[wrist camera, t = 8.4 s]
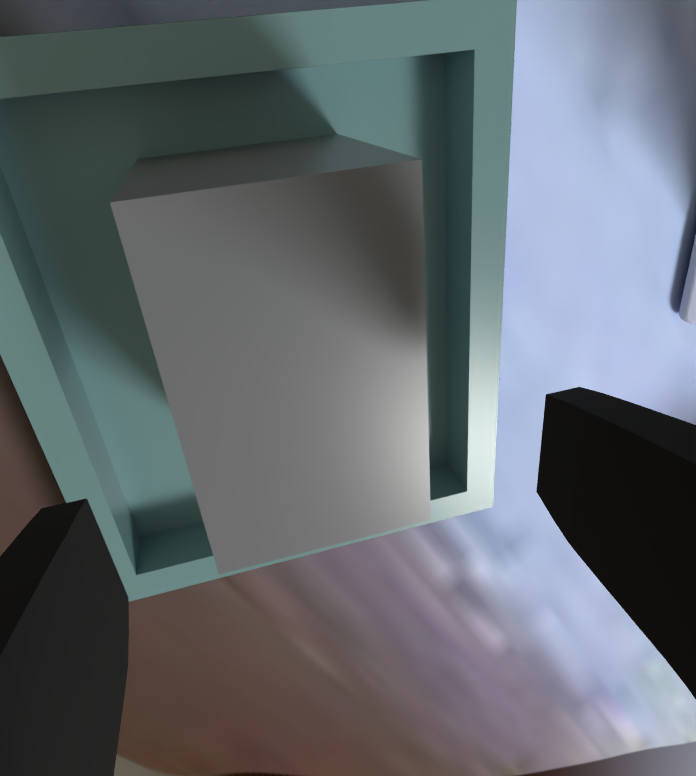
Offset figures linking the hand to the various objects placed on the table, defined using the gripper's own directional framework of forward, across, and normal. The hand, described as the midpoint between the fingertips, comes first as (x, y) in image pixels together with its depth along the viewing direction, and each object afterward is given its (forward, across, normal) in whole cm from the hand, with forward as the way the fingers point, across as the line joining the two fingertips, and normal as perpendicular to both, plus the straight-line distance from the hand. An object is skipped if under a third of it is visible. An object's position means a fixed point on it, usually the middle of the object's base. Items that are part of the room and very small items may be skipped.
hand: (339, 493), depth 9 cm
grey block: (+9, 0, 0) cm, 9 cm away
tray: (+9, 0, +1) cm, 9 cm away
